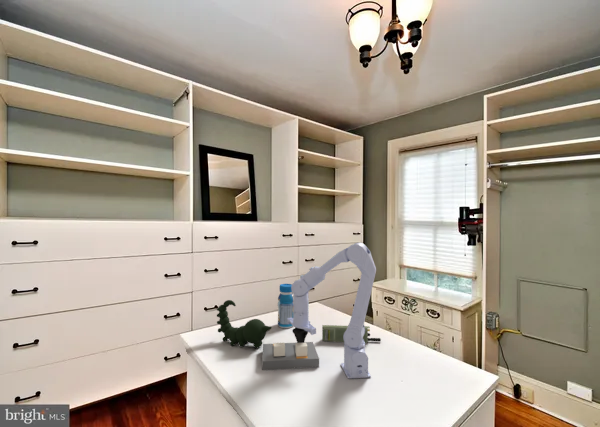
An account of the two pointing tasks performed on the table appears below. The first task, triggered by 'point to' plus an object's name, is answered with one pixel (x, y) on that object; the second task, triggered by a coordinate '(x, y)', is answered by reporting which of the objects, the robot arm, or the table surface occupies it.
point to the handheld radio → (341, 333)
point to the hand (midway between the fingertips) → (300, 347)
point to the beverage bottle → (285, 305)
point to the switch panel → (289, 357)
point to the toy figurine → (241, 329)
